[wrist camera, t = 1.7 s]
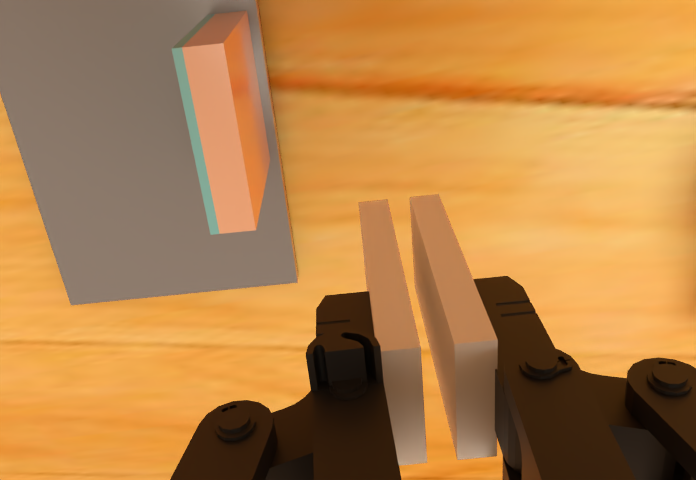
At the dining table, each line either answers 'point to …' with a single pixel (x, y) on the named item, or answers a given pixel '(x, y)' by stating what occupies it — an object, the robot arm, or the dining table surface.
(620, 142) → the dining table surface
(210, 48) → the tile
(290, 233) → the slate board
